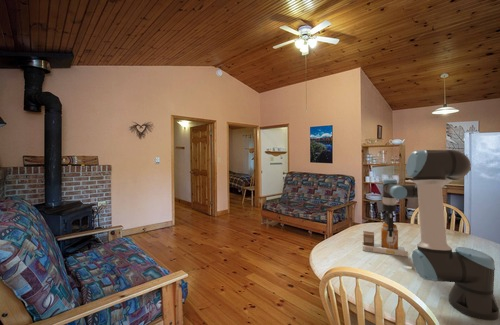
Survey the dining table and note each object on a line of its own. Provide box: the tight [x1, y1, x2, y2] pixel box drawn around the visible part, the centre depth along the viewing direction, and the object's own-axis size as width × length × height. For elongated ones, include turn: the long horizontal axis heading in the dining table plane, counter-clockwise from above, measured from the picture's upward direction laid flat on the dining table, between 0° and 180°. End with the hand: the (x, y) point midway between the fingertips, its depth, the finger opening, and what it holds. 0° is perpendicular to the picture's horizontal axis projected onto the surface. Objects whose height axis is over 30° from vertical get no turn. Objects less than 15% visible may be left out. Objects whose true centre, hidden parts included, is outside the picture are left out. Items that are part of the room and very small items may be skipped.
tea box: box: [362, 230, 375, 246], centre depth 158 cm, size 6×6×9 cm
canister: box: [380, 217, 399, 250], centre depth 153 cm, size 9×11×20 cm
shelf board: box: [361, 241, 409, 259], centre depth 155 cm, size 14×24×4 cm, turn 66°
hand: (389, 237), depth 154 cm, fingers open, 12 cm apart
